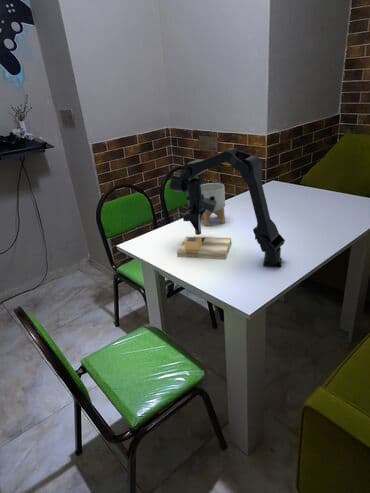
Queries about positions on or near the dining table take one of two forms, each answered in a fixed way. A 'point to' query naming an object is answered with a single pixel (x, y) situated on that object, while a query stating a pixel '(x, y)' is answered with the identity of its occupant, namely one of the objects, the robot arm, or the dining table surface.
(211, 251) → the subfloor board
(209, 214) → the planter
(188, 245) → the block
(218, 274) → the dining table surface
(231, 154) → the robot arm
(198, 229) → the peg
